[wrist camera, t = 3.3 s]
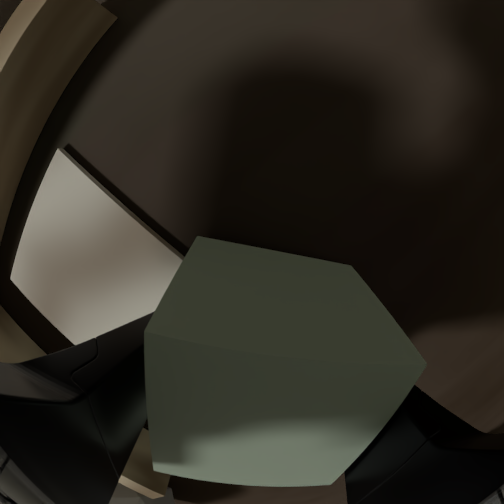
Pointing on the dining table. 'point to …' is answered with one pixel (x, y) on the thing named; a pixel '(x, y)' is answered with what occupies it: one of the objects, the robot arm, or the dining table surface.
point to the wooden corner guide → (71, 207)
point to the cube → (270, 368)
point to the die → (138, 497)
